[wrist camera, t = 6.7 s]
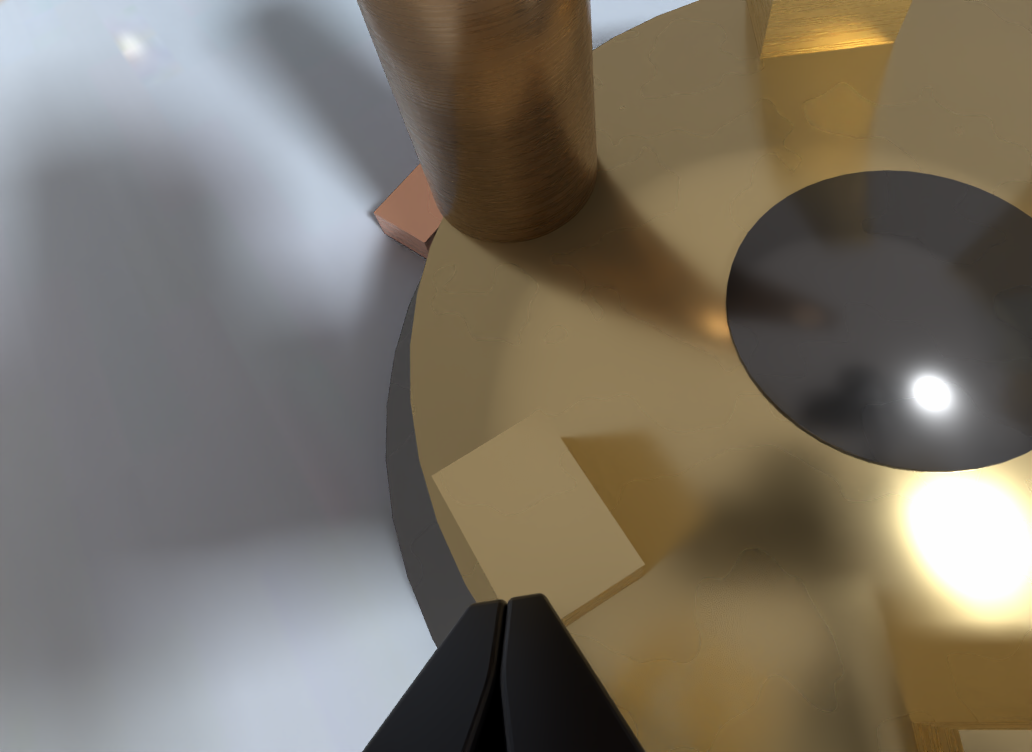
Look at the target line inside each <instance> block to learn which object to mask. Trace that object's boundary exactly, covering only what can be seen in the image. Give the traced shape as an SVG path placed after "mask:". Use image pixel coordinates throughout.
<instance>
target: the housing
mask: <svg viewBox="0 0 1032 752" xmlns="http://www.w3.org/2000/svg"><path fill="white" fill-rule="evenodd" d="M374 214H375V216H376V218H377V220H378V222H379V224H380V226H381V228H382V229H383V231H384V233H385V234H386V235H388V236H390V237H391V238H393V239H395V240H396V241H398V242H400V243H401V244H403V245H405V246H406V247H408V248H410V249H411V250H413V251H415V252H416V253H418V254H420V255H421V256H423V257H424V258H426V259H427V257H428V253H429V250H430V246H431V244H432V241H433V239H434V237H435V235H436V232H437V230H438V228H439V225H440V223H441V221H442V218H443V216H442V214H441V212H440V211H439V209H438V207H437V205H436V202H435V200H434V197H433V195H432V192H431V189H430V187H429V184H428V182H427V179H426V177H425V174H424V172H423V169H422V166H421V164H419V165H418V166H417V167H416V168H415V169H414V170H413V171H412V172H411V173H410V174H409V176H408V177H407V178H406V179H405V180H404V181H403V182H402V183H401V184H400V185H399V186H398V187H397V188H396V189H395V190H394V191H393V193H392V194H391V195H390V196H389V197H388V198H387V199H386V200H385V201H384V202H383V203H382V204H381V205H380V206H379V207H378V208H377V209H376V211H375V212H374ZM420 282H421V280H420ZM420 282H419V284H418V287H417V289H416V291H415V293H414V296H413V298H412V300H411V302H410V305H409V307H408V311H407V314H406V318H405V321H404V324H403V328H402V331H401V334H400V338H399V341H398V345H397V348H396V351H395V356H394V362H393V369H392V375H391V382H390V388H389V395H388V401H387V429H386V464H387V473H388V482H389V490H390V499H391V508H392V516H393V521H394V525H395V529H396V532H397V536H398V540H399V544H400V548H401V552H402V556H403V560H404V564H405V568H406V572H407V576H408V579H409V581H410V584H411V586H412V589H413V591H414V594H415V596H416V599H417V601H418V604H419V606H420V609H421V611H422V614H423V616H424V619H425V621H426V624H427V626H428V629H429V631H430V634H431V636H432V639H433V641H434V643H435V644H436V646H437V648H438V647H439V646H440V644H441V643H442V642H443V640H444V639H445V637H446V636H447V635H448V633H449V632H450V631H451V629H452V628H453V626H454V625H455V624H456V622H457V621H458V620H459V618H460V617H461V615H462V614H463V613H464V611H465V610H466V609H467V607H468V606H470V605H471V604H473V603H476V601H475V599H474V598H473V596H472V594H471V593H470V591H469V590H468V588H467V586H466V585H465V583H464V580H463V578H462V576H461V574H460V571H459V569H458V567H457V565H456V562H455V560H454V558H453V556H452V554H451V551H450V549H449V547H448V545H447V542H446V540H445V538H444V536H443V533H442V531H441V529H440V527H439V524H438V522H437V519H436V516H435V512H434V509H433V506H432V502H431V499H430V495H429V492H428V489H427V485H426V482H425V478H424V475H423V472H422V468H421V465H420V461H419V456H418V449H417V442H416V436H415V429H414V422H413V415H412V409H411V402H410V343H411V335H412V328H413V321H414V313H415V306H416V298H417V292H418V289H419V285H420Z"/></svg>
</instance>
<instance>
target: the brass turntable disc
mask: <svg viewBox="0 0 1032 752" xmlns="http://www.w3.org/2000/svg"><path fill="white" fill-rule="evenodd" d="M357 2H358V5H359V7H360V10H361V13H362V15H363V18H364V20H365V23H366V25H367V28H368V31H369V33H370V36H371V38H372V41H373V43H374V46H375V48H376V51H377V54H378V56H379V59H380V61H381V64H382V66H383V69H384V72H385V74H386V77H387V79H388V82H389V84H390V87H391V89H392V92H393V95H394V97H395V100H396V102H397V105H398V107H399V110H400V113H401V115H402V118H403V120H404V123H405V125H406V128H407V131H408V133H409V136H410V138H411V141H412V143H413V146H414V148H415V151H416V154H417V156H418V159H419V161H420V164H421V166H422V169H423V172H424V174H425V177H426V179H427V182H428V184H429V187H430V189H431V192H432V195H433V197H434V200H435V202H436V205H437V207H438V209H439V211H440V212H441V214H442V216H443V218H442V221H441V223H440V225H439V228H438V230H437V232H436V235H435V237H434V239H433V241H432V244H431V246H430V250H429V253H428V257H427V260H426V264H425V268H424V271H423V275H422V278H421V282H420V285H419V289H418V292H417V298H416V306H415V313H414V321H413V328H412V335H411V343H410V402H411V409H412V415H413V422H414V429H415V436H416V442H417V449H418V456H419V461H420V465H421V468H422V472H423V475H424V478H425V482H426V485H427V489H428V492H429V495H430V499H431V502H432V506H433V509H434V512H435V516H436V519H437V522H438V524H439V527H440V529H441V531H442V533H443V536H444V538H445V540H446V542H447V545H448V547H449V549H450V551H451V554H452V556H453V558H454V560H455V562H456V565H457V567H458V569H459V571H460V574H461V576H462V578H463V580H464V583H465V585H466V586H467V588H468V590H469V591H470V593H471V594H472V596H473V598H474V599H475V601H476V603H478V602H484V601H491V600H497V599H503V600H505V601H506V602H507V603H508V601H509V600H510V599H511V598H512V597H516V596H523V595H529V594H536V593H542V594H544V595H545V596H546V597H547V598H548V600H549V601H550V603H551V605H552V606H553V608H554V609H555V611H556V612H557V614H558V616H559V617H560V619H561V620H562V622H563V623H564V625H565V626H566V628H567V630H568V631H569V633H570V634H571V636H572V637H573V639H574V640H575V642H576V644H577V645H578V647H579V648H580V650H581V651H582V653H583V655H584V656H585V658H586V659H587V661H588V662H589V664H590V665H591V667H592V669H593V670H594V672H595V673H596V675H597V676H598V678H599V679H600V681H601V683H602V684H603V686H604V687H605V689H606V690H607V692H608V694H609V695H610V697H611V698H612V700H613V701H614V703H615V704H616V706H617V708H618V709H619V711H620V712H621V714H622V715H623V717H624V719H625V720H626V722H627V723H628V725H629V726H630V728H631V729H632V731H633V733H634V734H635V736H636V737H637V739H638V740H639V742H640V743H641V745H642V747H643V748H644V750H645V751H646V752H1032V0H699V1H696V2H694V3H691V4H688V5H686V6H683V7H680V8H677V9H675V10H672V11H669V12H667V13H664V14H661V15H659V16H656V17H654V18H652V19H650V20H648V21H646V22H644V23H642V24H640V25H638V26H636V27H634V28H632V29H630V30H628V31H626V32H624V33H622V34H620V35H618V36H615V37H614V38H612V39H610V40H609V41H607V42H606V43H604V44H602V45H601V46H599V47H598V48H596V49H594V50H593V51H592V29H591V5H590V0H357Z"/></svg>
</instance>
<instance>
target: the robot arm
mask: <svg viewBox="0 0 1032 752" xmlns="http://www.w3.org/2000/svg"><path fill="white" fill-rule="evenodd" d="M362 752H646V751H645V750H644V748H643V747H642V745H641V743H640V742H639V740H638V739H637V737H636V736H635V734H634V733H633V731H632V729H631V728H630V726H629V725H628V723H627V722H626V720H625V719H624V717H623V715H622V714H621V712H620V711H619V709H618V708H617V706H616V704H615V703H614V701H613V700H612V698H611V697H610V695H609V694H608V692H607V690H606V689H605V687H604V686H603V684H602V683H601V681H600V679H599V678H598V676H597V675H596V673H595V672H594V670H593V669H592V667H591V665H590V664H589V662H588V661H587V659H586V658H585V656H584V655H583V653H582V651H581V650H580V648H579V647H578V645H577V644H576V642H575V640H574V639H573V637H572V636H571V634H570V633H569V631H568V630H567V628H566V626H565V625H564V623H563V622H562V620H561V619H560V617H559V616H558V614H557V612H556V611H555V609H554V608H553V606H552V605H551V603H550V601H549V600H548V598H547V597H546V596H545V595H544V594H542V593H536V594H529V595H523V596H516V597H512V598H511V599H510V600H509V601H508V603H507V602H506V601H505V600H503V599H497V600H491V601H484V602H478V603H473V604H471V605H470V606H468V607H467V609H466V610H465V611H464V613H463V614H462V615H461V617H460V618H459V620H458V621H457V622H456V624H455V625H454V626H453V628H452V629H451V631H450V632H449V633H448V635H447V636H446V637H445V639H444V640H443V642H442V643H441V644H440V646H439V647H438V648H437V650H436V651H435V652H434V654H433V655H432V657H431V658H430V659H429V661H428V662H427V663H426V665H425V666H424V668H423V669H422V670H421V672H420V673H419V674H418V676H417V677H416V679H415V680H414V681H413V683H412V684H411V685H410V687H409V688H408V690H407V691H406V692H405V694H404V695H403V696H402V698H401V699H400V701H399V702H398V703H397V705H396V706H395V707H394V709H393V710H392V712H391V713H390V714H389V716H388V717H387V718H386V720H385V721H384V722H383V724H382V725H381V727H380V728H379V729H378V731H377V732H376V733H375V735H374V736H373V738H372V739H371V740H370V742H369V743H368V744H367V746H366V747H365V749H364V750H363V751H362Z"/></svg>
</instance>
